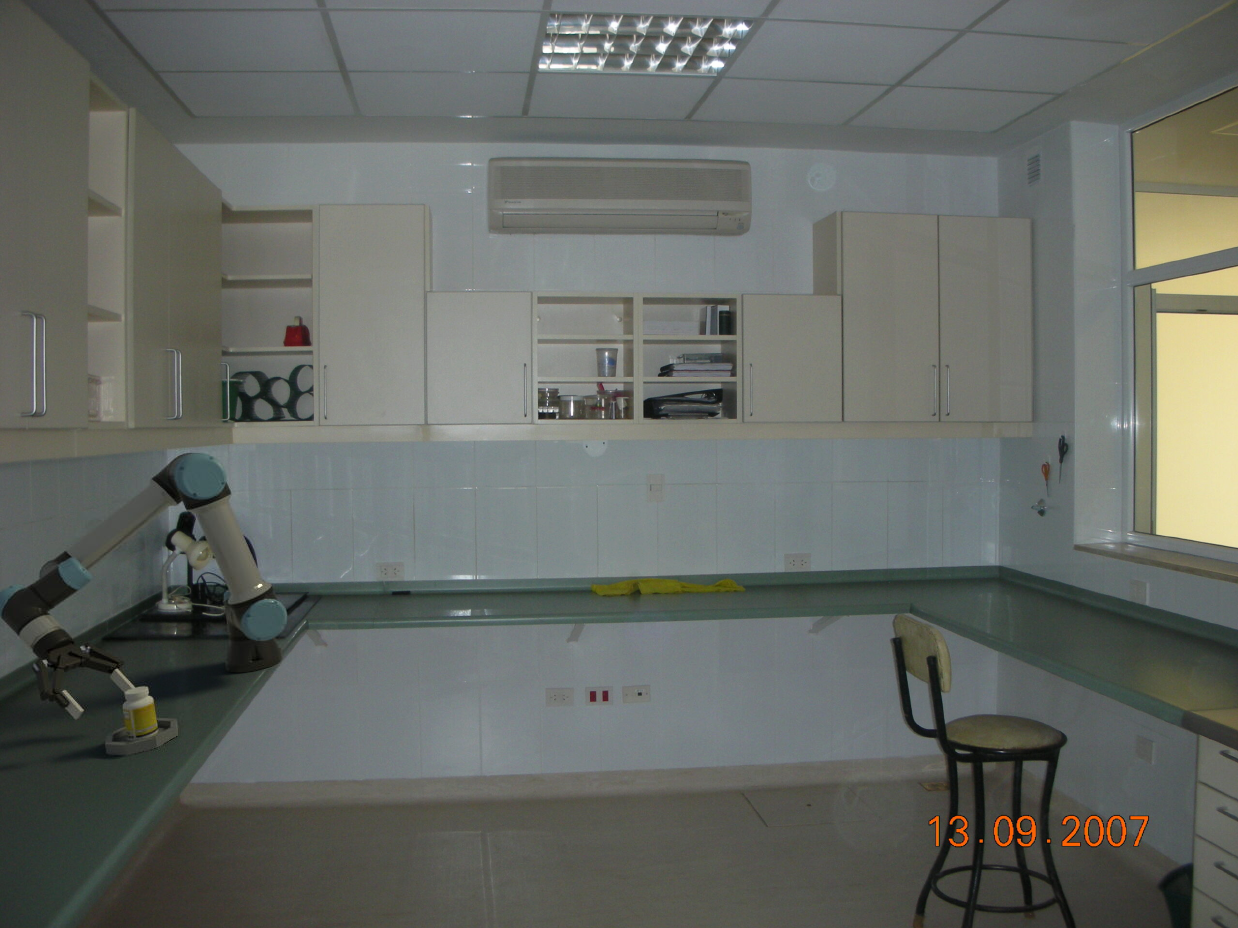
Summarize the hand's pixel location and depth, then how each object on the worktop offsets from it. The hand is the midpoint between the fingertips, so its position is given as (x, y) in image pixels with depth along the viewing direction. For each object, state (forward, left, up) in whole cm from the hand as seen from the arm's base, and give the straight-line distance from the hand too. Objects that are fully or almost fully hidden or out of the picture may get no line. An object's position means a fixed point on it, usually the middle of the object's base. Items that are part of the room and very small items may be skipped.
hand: (106, 702), depth 189 cm
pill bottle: (0, +9, -8) cm, 12 cm away
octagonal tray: (0, +9, -9) cm, 13 cm away
